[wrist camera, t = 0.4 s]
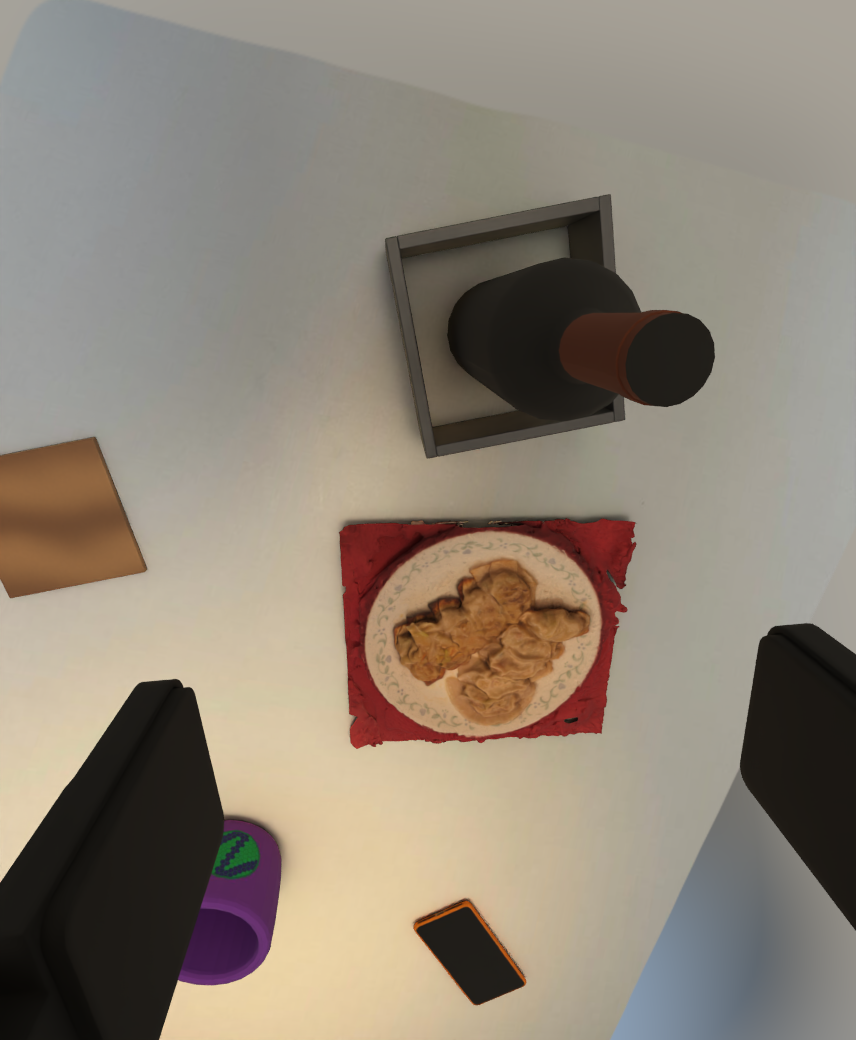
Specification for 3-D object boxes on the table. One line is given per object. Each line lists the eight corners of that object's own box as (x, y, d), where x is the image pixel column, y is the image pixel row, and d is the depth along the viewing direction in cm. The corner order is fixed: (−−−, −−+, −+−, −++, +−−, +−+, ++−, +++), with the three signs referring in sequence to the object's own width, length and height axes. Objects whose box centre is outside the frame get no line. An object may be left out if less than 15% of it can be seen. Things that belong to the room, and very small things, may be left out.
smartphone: (468, 897, 66) (469, 904, 65) (526, 977, 72) (528, 985, 71) (410, 922, 67) (410, 930, 66) (473, 1000, 73) (474, 1008, 72)
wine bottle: (482, 259, 44) (655, 159, 15) (560, 316, 45) (845, 319, 17) (429, 347, 45) (496, 402, 17) (506, 398, 47) (682, 523, 19)
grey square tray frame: (385, 249, 43) (384, 238, 36) (577, 212, 43) (611, 193, 36) (421, 439, 48) (426, 459, 41) (592, 405, 48) (625, 420, 41)
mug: (298, 820, 61) (282, 912, 52) (275, 895, 64) (256, 995, 55) (128, 790, 58) (78, 882, 49) (114, 871, 62) (65, 971, 52)
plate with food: (341, 517, 50) (336, 532, 47) (631, 516, 51) (646, 530, 48) (351, 737, 58) (348, 762, 55) (600, 731, 59) (611, 756, 56)
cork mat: (-51, 465, 46) (-56, 466, 46) (95, 436, 46) (92, 437, 46) (13, 596, 50) (9, 598, 50) (147, 569, 50) (145, 572, 50)
